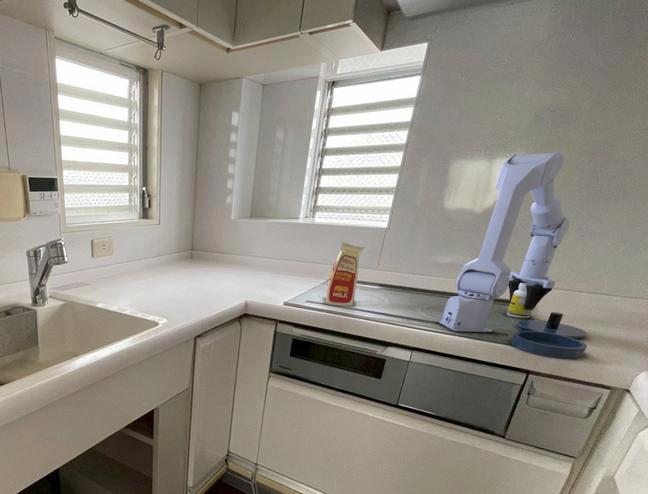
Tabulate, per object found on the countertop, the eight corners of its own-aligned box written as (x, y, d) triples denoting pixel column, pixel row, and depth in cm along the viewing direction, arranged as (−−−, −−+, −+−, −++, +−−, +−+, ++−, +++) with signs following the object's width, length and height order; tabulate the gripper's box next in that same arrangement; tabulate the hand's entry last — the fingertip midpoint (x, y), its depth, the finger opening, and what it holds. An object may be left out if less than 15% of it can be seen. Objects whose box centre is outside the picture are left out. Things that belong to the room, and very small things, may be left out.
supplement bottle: (506, 312, 125) (516, 281, 122) (529, 315, 122) (541, 283, 118) (506, 316, 121) (517, 284, 118) (529, 319, 118) (542, 286, 114)
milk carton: (326, 304, 136) (336, 243, 128) (325, 297, 144) (334, 239, 136) (355, 306, 133) (368, 244, 125) (353, 299, 141) (364, 240, 133)
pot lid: (541, 339, 103) (549, 320, 101) (504, 323, 115) (511, 305, 113) (601, 341, 101) (609, 321, 99) (557, 324, 114) (564, 307, 112)
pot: (536, 357, 92) (540, 347, 91) (499, 338, 103) (502, 330, 102) (598, 359, 90) (603, 349, 89) (553, 340, 102) (557, 331, 101)
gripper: (574, 265, 108) (555, 313, 114) (533, 257, 122) (518, 301, 127) (545, 264, 109) (527, 313, 114) (508, 256, 122) (493, 300, 128)
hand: (520, 306), depth 121 cm, fingers open, 5 cm apart
